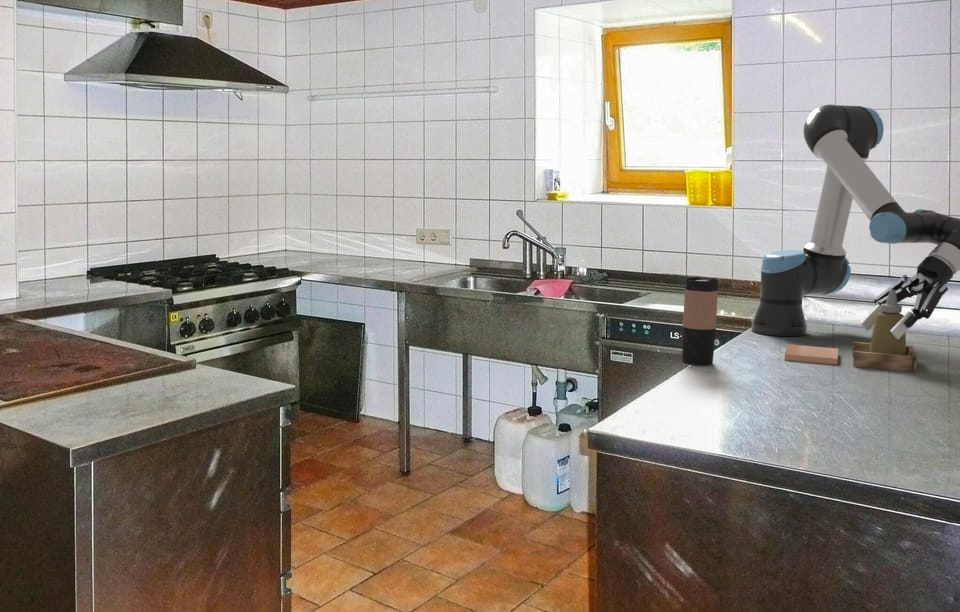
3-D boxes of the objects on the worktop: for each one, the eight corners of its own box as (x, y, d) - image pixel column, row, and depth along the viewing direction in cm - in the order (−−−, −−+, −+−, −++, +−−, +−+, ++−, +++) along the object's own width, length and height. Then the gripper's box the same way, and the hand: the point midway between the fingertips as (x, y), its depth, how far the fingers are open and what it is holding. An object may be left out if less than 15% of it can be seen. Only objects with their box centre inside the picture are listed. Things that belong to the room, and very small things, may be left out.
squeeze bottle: (873, 358, 222) (879, 286, 220) (908, 363, 217) (915, 290, 215) (863, 363, 216) (869, 289, 214) (899, 368, 211) (906, 293, 209)
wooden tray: (853, 366, 213) (854, 351, 212) (852, 355, 226) (853, 341, 226) (916, 371, 208) (917, 357, 207) (911, 360, 221) (912, 346, 221)
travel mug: (690, 366, 209) (695, 281, 206) (675, 359, 216) (679, 277, 214) (720, 365, 211) (725, 281, 208) (703, 358, 218) (708, 277, 216)
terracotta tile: (784, 360, 219) (784, 354, 219) (787, 350, 232) (788, 344, 231) (837, 364, 214) (837, 358, 214) (837, 354, 227) (838, 348, 227)
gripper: (985, 282, 206) (920, 350, 205) (916, 271, 228) (857, 333, 227) (968, 259, 204) (902, 328, 203) (899, 250, 226) (840, 312, 225)
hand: (878, 331), depth 215 cm, fingers open, 10 cm apart
